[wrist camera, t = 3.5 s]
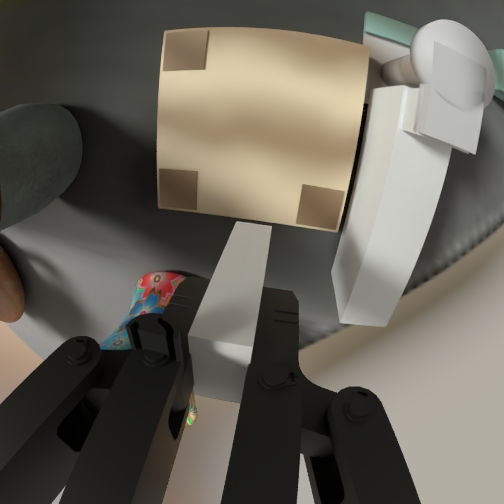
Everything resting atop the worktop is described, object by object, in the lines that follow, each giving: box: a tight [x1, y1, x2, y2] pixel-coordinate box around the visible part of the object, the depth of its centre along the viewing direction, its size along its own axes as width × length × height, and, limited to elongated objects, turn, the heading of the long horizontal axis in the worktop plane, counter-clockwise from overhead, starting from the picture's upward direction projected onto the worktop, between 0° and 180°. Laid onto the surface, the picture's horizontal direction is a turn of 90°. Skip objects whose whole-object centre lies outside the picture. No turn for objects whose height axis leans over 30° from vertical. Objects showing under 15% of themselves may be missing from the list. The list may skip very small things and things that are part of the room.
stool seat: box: [157, 11, 504, 233], centre depth 12 cm, size 16×28×7 cm, turn 85°
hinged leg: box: [331, 20, 496, 327], centre depth 13 cm, size 17×4×8 cm, turn 175°
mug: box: [99, 271, 197, 428], centre depth 21 cm, size 12×9×11 cm
